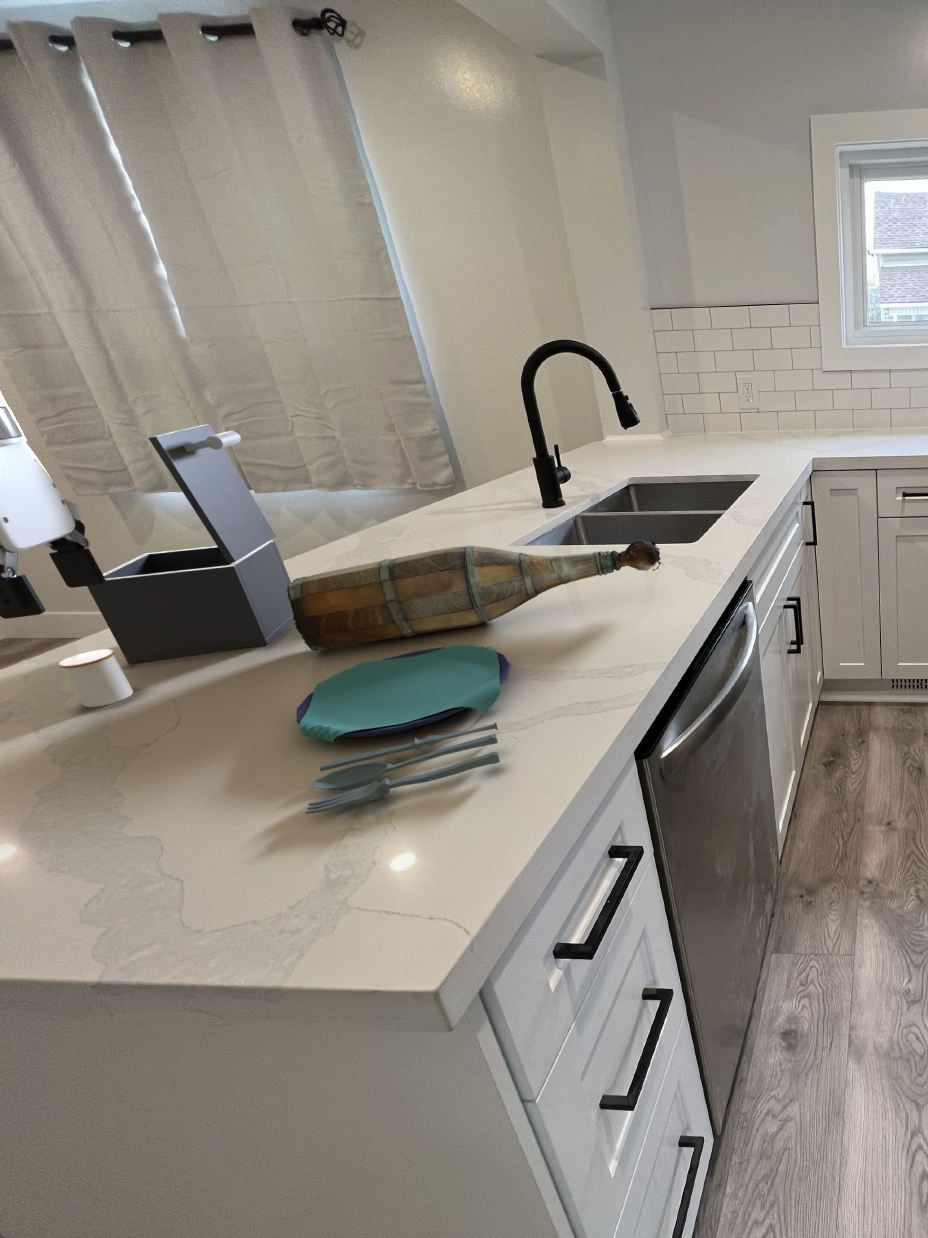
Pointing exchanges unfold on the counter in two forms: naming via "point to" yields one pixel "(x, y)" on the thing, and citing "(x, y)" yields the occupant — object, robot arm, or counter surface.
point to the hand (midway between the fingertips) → (58, 599)
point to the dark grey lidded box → (194, 602)
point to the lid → (215, 488)
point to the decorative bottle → (438, 590)
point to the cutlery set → (401, 714)
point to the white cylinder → (97, 677)
